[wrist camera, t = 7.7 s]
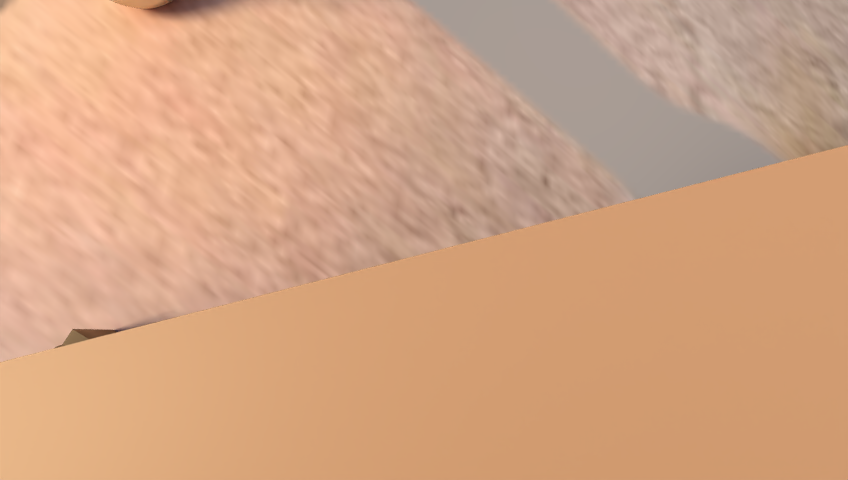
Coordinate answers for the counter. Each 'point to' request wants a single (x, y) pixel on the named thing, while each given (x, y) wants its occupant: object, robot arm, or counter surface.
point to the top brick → (491, 358)
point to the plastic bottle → (142, 3)
